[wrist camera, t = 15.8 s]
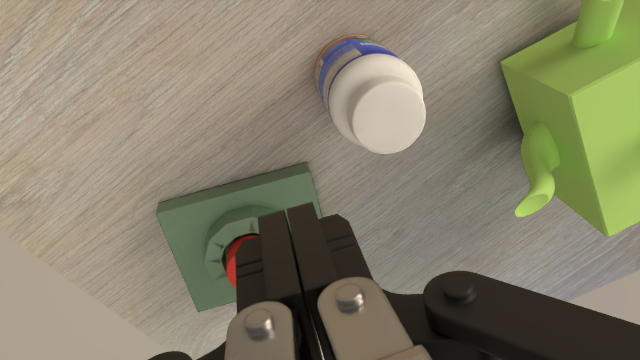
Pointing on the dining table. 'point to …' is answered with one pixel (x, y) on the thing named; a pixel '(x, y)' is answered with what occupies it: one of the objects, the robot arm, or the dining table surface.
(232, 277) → the button
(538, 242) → the dining table surface
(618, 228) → the kettle
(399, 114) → the pill bottle
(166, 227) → the control block
